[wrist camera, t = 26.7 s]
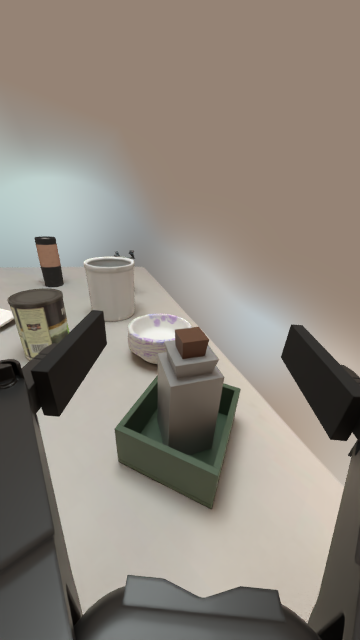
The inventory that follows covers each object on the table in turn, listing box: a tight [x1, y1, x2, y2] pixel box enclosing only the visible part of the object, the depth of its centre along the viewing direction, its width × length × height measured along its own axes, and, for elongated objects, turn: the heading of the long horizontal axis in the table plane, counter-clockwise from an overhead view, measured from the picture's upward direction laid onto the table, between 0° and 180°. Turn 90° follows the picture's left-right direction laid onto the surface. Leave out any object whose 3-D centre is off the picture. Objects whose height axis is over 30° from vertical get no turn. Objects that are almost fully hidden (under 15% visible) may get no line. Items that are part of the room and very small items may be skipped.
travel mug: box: [35, 237, 63, 287], centre depth 95 cm, size 8×8×20 cm
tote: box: [115, 375, 240, 509], centre depth 34 cm, size 15×14×7 cm
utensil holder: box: [84, 257, 134, 321], centre depth 72 cm, size 15×15×18 cm
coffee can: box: [8, 289, 69, 360], centre depth 52 cm, size 10×10×14 cm
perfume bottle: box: [157, 327, 224, 455], centre depth 31 cm, size 7×7×18 cm
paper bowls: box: [128, 314, 192, 364], centre depth 54 cm, size 15×15×8 cm
